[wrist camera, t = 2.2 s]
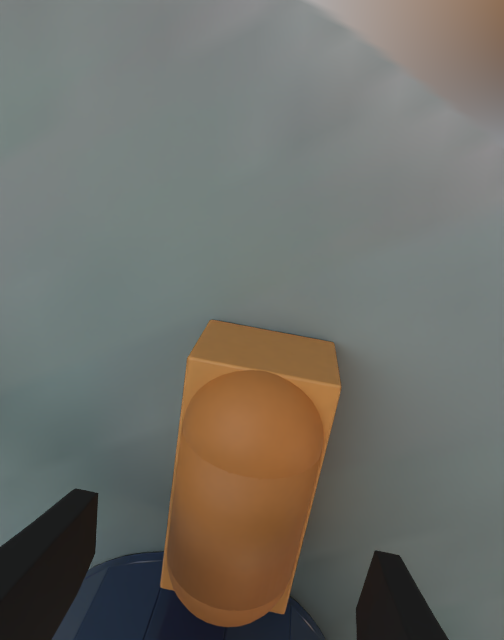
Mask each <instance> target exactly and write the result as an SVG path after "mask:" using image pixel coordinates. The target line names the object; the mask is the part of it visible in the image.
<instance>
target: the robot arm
mask: <svg viewBox="0 0 504 640" xmlns="http://www.w3.org/2000/svg"><path fill="white" fill-rule="evenodd" d="M97 506H98V493H95V492H90V491H86V490H81V489H74V490H72V491H71V492H70V493H68V494H67V495H66V496H65V497H63V498H62V499H61V500H60V501H59V502H57V503H56V504H55V505H54V506H52V507H51V508H50V509H49V510H47V511H46V512H45V513H44V514H42V515H41V516H40V517H39V518H37V519H36V520H35V521H34V522H32V523H31V524H30V525H29V526H27V527H26V528H25V529H23V530H22V531H21V532H19V533H18V534H17V535H15V536H14V537H13V538H11V539H10V540H9V541H8V542H6V543H5V544H4V545H2V546H1V547H0V640H52V638H53V637H54V635H55V633H56V631H57V630H58V628H59V626H60V624H61V622H62V621H63V619H64V617H65V615H66V614H67V612H68V610H69V608H70V606H71V605H72V603H73V601H74V599H75V597H76V596H77V594H78V591H79V589H80V587H81V585H82V582H83V580H84V578H85V576H86V573H87V571H88V569H89V566H90V564H91V562H92V559H93V557H94V555H95V545H96V526H97ZM356 624H357V640H449V639H448V638H447V636H446V634H445V633H444V631H443V630H442V628H441V626H440V625H439V623H438V621H437V620H436V618H435V616H434V615H433V613H432V611H431V610H430V608H429V606H428V604H427V603H426V601H425V599H424V597H423V596H422V594H421V592H420V590H419V589H418V587H417V585H416V583H415V582H414V580H413V578H412V576H411V574H410V573H409V571H408V569H407V567H406V566H405V564H404V562H403V560H402V559H401V557H400V556H399V555H395V554H391V553H386V552H381V551H376V550H375V552H374V555H373V558H372V561H371V564H370V567H369V570H368V573H367V577H366V580H365V583H364V586H363V589H362V592H361V595H360V598H359V601H358V604H357V607H356Z"/></svg>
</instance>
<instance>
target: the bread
mask: <svg viewBox="0 0 504 640" xmlns="http://www.w3.org/2000/svg"><path fill="white" fill-rule="evenodd" d="M340 392H341V381H340V375H339V369H338V363H337V357H336V351H335V345H334V343H333V342H329V341H324V340H318V339H313V338H308V337H302V336H297V335H292V334H286V333H281V332H276V331H270V330H265V329H260V328H254V327H249V326H243V325H238V324H233V323H227V322H222V321H217V320H210V321H209V323H208V324H207V326H206V328H205V329H204V331H203V333H202V334H201V336H200V338H199V340H198V341H197V343H196V345H195V346H194V348H193V350H192V351H191V353H190V355H189V356H188V358H187V364H186V373H185V381H184V390H183V398H182V406H181V415H180V423H179V431H178V440H177V448H176V456H175V465H174V473H173V482H172V490H171V498H170V507H169V515H168V523H167V532H166V540H165V548H164V557H163V565H162V574H161V582H160V587H161V588H163V589H168V590H173V591H175V593H176V595H177V597H178V598H179V599H180V601H181V602H182V603H183V604H184V606H185V607H186V608H187V609H188V610H189V611H190V612H191V613H192V614H193V615H195V616H196V617H197V618H199V619H201V620H203V621H205V622H206V623H210V624H213V625H216V626H222V627H238V626H242V625H246V624H249V623H251V622H253V621H255V620H257V619H259V618H261V617H263V616H264V615H265V614H267V613H268V612H274V613H278V614H284V613H285V611H286V607H287V603H288V599H289V595H290V591H291V587H292V583H293V579H294V575H295V571H296V567H297V563H298V559H299V555H300V551H301V547H302V543H303V539H304V535H305V531H306V527H307V523H308V519H309V515H310V511H311V507H312V503H313V499H314V495H315V491H316V487H317V484H318V480H319V476H320V472H321V468H322V464H323V460H324V456H325V452H326V448H327V444H328V440H329V436H330V432H331V428H332V424H333V420H334V416H335V412H336V408H337V404H338V400H339V396H340Z"/></svg>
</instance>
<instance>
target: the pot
mask: <svg viewBox="0 0 504 640" xmlns="http://www.w3.org/2000/svg"><path fill="white" fill-rule="evenodd" d="M163 557H164V552H148V553H139V554H133V555H127V556H123V557H119V558H116V559H113V560H109V561H107V562H104V563H102V564H100V565H98V566H95V567H93V568H91V569H90V570H88V571H87V573H86V576H85V578H84V580H83V582H82V585H81V587H80V589H79V591H78V594H77V596H76V597H75V599H74V601H73V603H72V605H71V606H70V608H69V610H68V612H67V614H66V615H65V617H64V619H63V621H62V622H61V624H60V626H59V628H58V630H57V631H56V633H55V635H54V637H53V638H52V640H325V638H324V636H323V634H322V632H321V630H320V629H319V627H318V626H317V625H316V623H315V622H314V620H313V619H312V618H311V616H310V615H309V614H308V613H307V612H306V611H305V610H304V609H303V608H302V607H301V606H300V605H299V604H298V603H297V602H296V601H295V600H294V599H293V598H291V597H290V596H289V599H288V603H287V607H286V611H285V613H284V614H278V613H274V612H268V613H267V614H265V615H264V616H263V617H261V618H259V619H257V620H255V621H253V622H251V623H249V624H246V625H242V626H238V627H222V626H216V625H213V624H210V623H206V622H205V621H203V620H201V619H199V618H197V617H196V616H195V615H193V614H192V613H191V612H190V611H189V610H188V609H187V608H186V607H185V606H184V604H183V603H182V602H181V601H180V599H179V598H178V597H177V595H176V593H175V591H173V590H168V589H163V588H161V587H160V582H161V574H162V565H163Z"/></svg>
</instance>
